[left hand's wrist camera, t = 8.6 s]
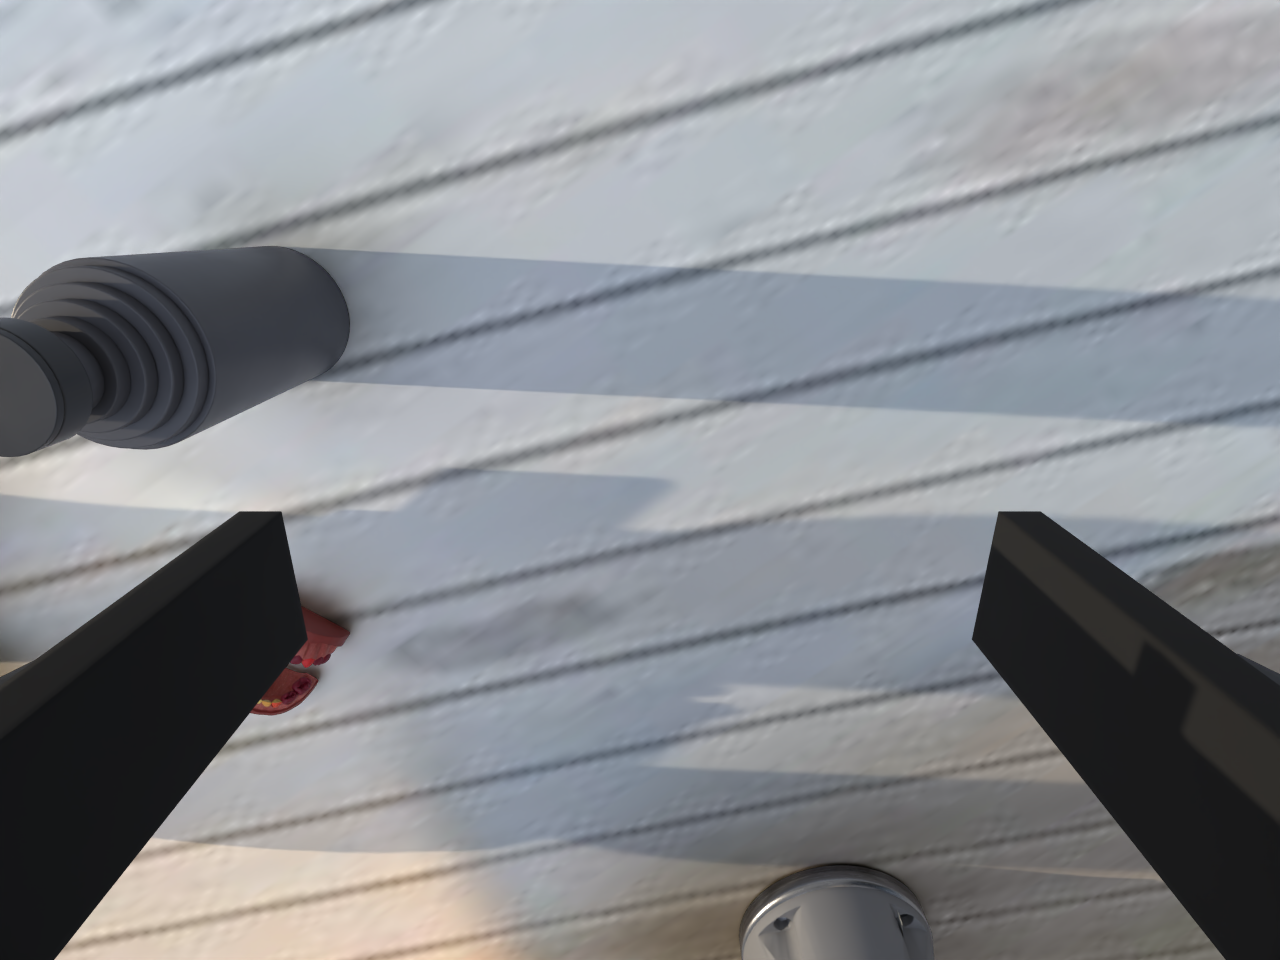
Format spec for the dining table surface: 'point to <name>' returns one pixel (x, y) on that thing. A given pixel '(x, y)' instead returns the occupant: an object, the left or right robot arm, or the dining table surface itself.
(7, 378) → the cap
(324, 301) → the bottle
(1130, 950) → the dining table surface
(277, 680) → the dental model
